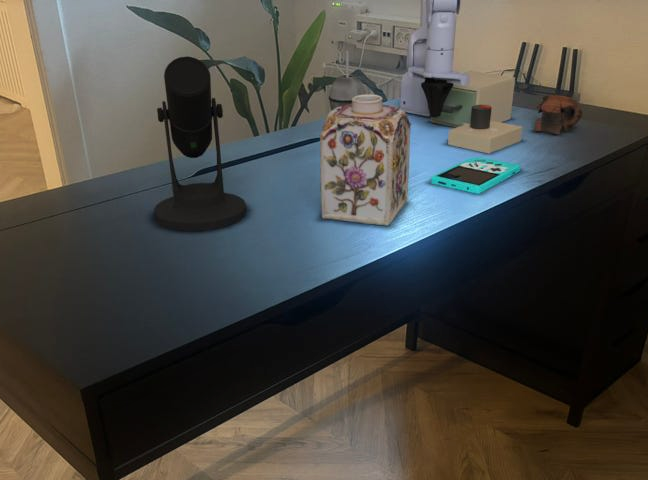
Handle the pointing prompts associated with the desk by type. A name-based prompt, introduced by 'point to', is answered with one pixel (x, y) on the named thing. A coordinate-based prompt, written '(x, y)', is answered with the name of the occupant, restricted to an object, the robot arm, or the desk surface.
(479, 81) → the drawer box
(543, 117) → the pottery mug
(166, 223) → the microphone
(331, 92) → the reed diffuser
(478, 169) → the handheld game console
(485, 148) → the block
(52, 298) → the desk surface
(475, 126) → the timer dial
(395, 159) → the decorative jar
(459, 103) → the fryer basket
